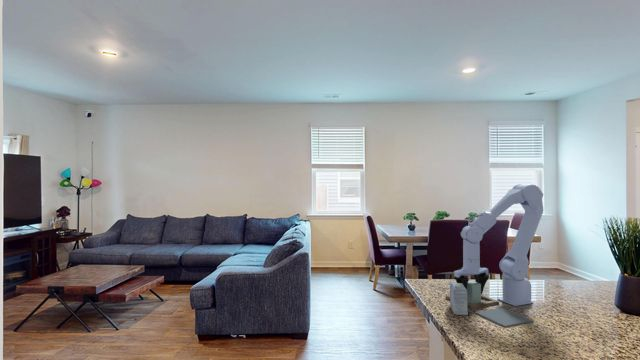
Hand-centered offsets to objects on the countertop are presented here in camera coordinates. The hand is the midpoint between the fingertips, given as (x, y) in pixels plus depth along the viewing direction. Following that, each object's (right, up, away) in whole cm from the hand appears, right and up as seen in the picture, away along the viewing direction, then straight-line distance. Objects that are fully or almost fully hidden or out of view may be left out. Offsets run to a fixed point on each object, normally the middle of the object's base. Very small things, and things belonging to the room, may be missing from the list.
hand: (471, 294), depth 129 cm
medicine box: (-9, -3, -10) cm, 13 cm away
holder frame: (0, -3, 0) cm, 3 cm away
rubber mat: (+4, -2, -16) cm, 16 cm away
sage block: (0, -3, 0) cm, 3 cm away
